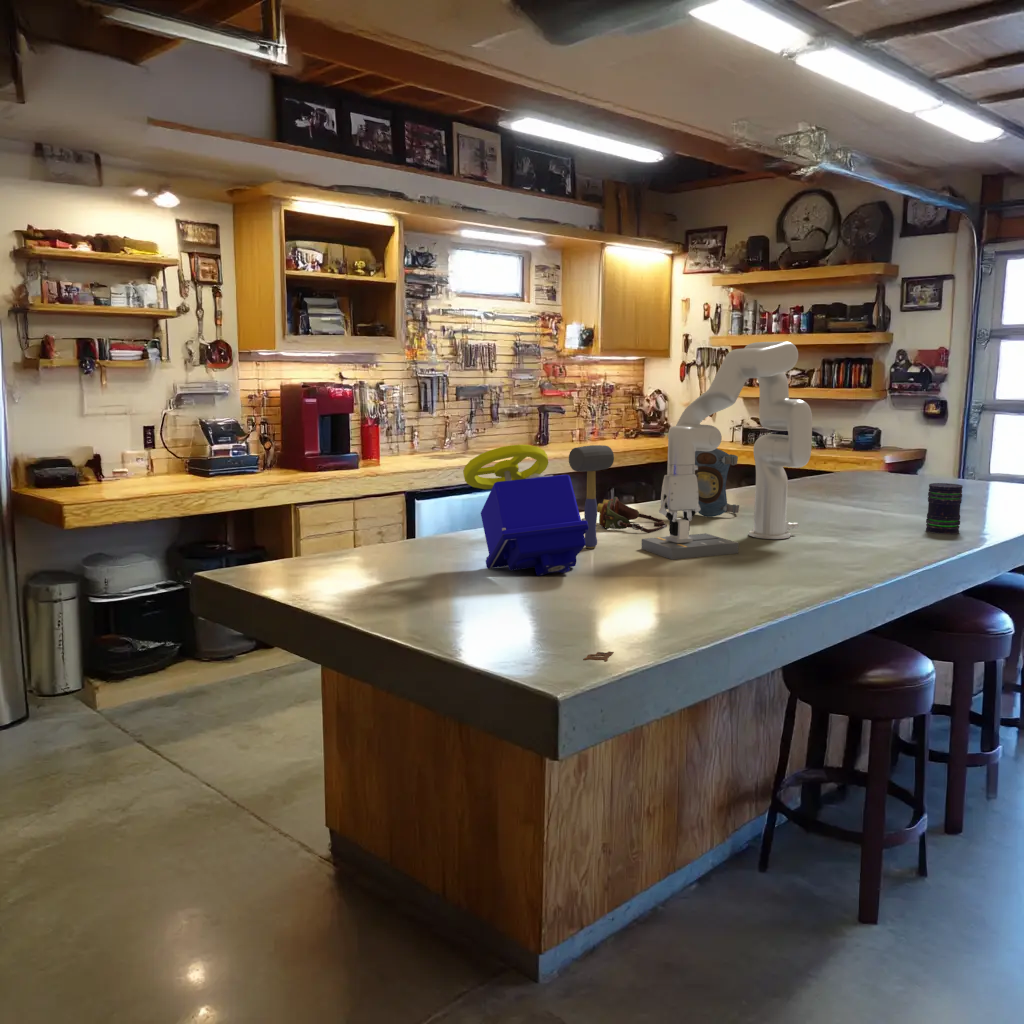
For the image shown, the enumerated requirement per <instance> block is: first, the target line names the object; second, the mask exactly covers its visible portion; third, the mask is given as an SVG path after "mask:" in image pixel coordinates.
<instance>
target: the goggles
mask: <svg viewBox="0 0 1024 1024" xmlns="http://www.w3.org/2000/svg"><path fill="white" fill-rule="evenodd" d="M597 513H598V515H599V516H598V520H599V525H600V526H602V528H604V529H605V530H608V529H611V530H624V529H628V528H630V529H632V530H637V531H639V530H640V531H641V532H644V533H647V534H651V533H654V532H658V531H660V530H663V529H665V528H667V527H668V526H667V525H668V524H667V523H665V521H664V520H663V519H660V518H657V517H654V516H652V515H650V514H649V515H647V514H643V513H641V512H639V510H638V509H636V508H633V507H630V506H628V505H626V504H625V503H623V502H621V501H620V499H619V498H618V497H617V496H614V497H613V498H610V499H603V501H602V502H601V503H600V502H599V503H597ZM638 518H641V519H646V520H649V521H652V522H653V527H655V528H645V527H644V526H643V525H640V524H639V523H635V522H634V523H631V521H632V520H633V521H634V520H636V519H638Z"/></svg>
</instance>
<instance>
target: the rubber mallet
mask: <svg viewBox="0 0 1024 1024" xmlns="http://www.w3.org/2000/svg"><path fill="white" fill-rule="evenodd" d="M614 461H615V454H614V451H613V449H612V448H611V447H610V446H608V445H605V444H604V445H603V444H602V445H600V444H599V445H598V444H596V445H593V444H592V445H585V446H584V445H583V446H578V447H574V448H572V449H571V450H570V451H569V454H568V463H569V467H570V468H571V469H572V470H573V471H575V472H584V473H585V472H586V498H585V503H584V514H583V515H584V517H583V518H585V520H586V521H587V523H588V527H589V529H588V530H587V531H586V533H585V534H584V538H585V543H586V544H585V546H584V547H585V548H586V549H590V550H591V549H595V548H596V546H597V545H598V539H597V520H598V512H597V506H598V503H597V498H596V495H597V493H596V492H597V491H596V488H597V487H596V484H597V483H596V482H597V481H596V475H597V474H596V471H598V472H599V471H601V470H602V471H603V470H608V469H609V468H611V467H612V466H613V464H614Z"/></svg>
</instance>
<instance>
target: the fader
mask: <svg viewBox="0 0 1024 1024" xmlns="http://www.w3.org/2000/svg"><path fill="white" fill-rule="evenodd" d="M676 522H678V535H677V536H674V535H670V534H669V535H666V536H665V537H666V540H669V541H672V542H676V543H685V542H693V538H690V537H689V535H690V530H689V521H688V520H685V519H683V518H680V517H677V520H676Z"/></svg>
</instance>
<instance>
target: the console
mask: <svg viewBox="0 0 1024 1024" xmlns="http://www.w3.org/2000/svg"><path fill="white" fill-rule="evenodd" d="M689 537H690V538H693V542H685V543H676V542H672V541H669V540H666V536H660V537H659V536H657V537H648V538H641V550H643V551H646V552H649V553H652V554H655V555H657V556H660V557H664V558H667V559H669V560H681V559H690V558H702V557H703V558H704V557H709V556H710V557H712V556H713V557H714V556H720V555H721V556H723V555H733V554H739V542H736V541H735V540H734V541H733V540H731V539H726V538H723V537H720V536H717V535H712V534H709V533H706V532H705V533H695V534H694V533H693V534H689Z"/></svg>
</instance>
